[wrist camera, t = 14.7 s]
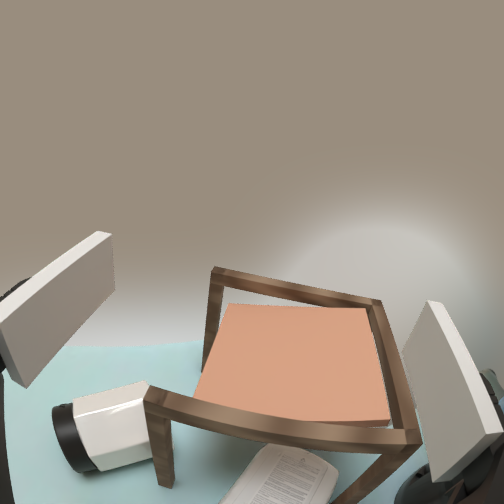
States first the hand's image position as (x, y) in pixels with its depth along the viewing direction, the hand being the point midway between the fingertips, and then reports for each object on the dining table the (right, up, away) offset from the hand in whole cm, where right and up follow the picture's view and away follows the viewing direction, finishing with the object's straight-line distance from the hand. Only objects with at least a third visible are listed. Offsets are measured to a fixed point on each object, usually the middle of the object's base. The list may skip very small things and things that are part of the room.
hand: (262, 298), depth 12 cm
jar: (-11, -17, +20) cm, 28 cm away
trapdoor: (+4, -9, +17) cm, 19 cm away
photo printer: (0, -26, +9) cm, 28 cm away
